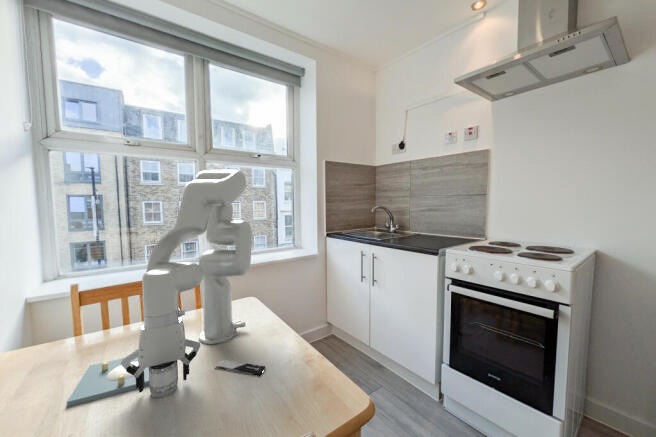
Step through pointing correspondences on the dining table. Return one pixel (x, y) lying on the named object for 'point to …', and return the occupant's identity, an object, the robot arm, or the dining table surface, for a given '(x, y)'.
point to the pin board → (105, 381)
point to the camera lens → (163, 379)
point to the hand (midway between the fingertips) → (164, 382)
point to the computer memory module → (241, 368)
